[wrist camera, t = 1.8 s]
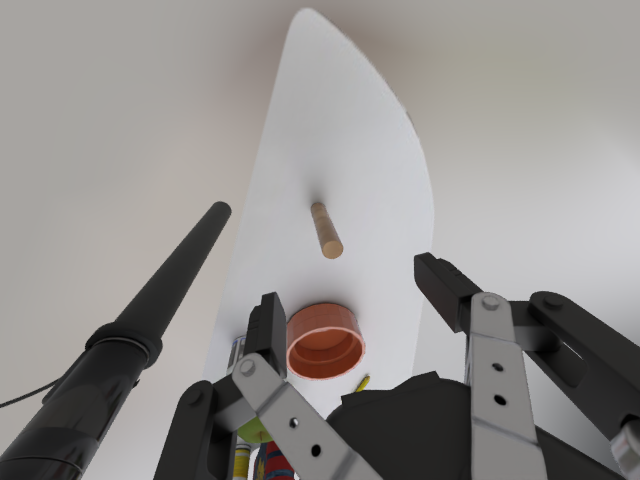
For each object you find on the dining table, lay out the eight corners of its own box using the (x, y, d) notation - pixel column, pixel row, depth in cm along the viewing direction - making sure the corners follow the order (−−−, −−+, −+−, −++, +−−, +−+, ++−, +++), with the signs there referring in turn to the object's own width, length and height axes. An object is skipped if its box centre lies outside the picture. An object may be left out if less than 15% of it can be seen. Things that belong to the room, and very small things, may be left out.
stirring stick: (311, 217, 35) (322, 260, 24) (310, 203, 34) (321, 241, 23) (325, 215, 35) (343, 257, 24) (325, 201, 34) (343, 239, 23)
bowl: (290, 357, 49) (290, 386, 43) (280, 307, 42) (279, 334, 37) (355, 346, 50) (364, 373, 45) (356, 296, 43) (366, 320, 38)
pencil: (343, 412, 62) (344, 416, 61) (340, 412, 61) (340, 416, 60) (371, 374, 55) (372, 378, 54) (367, 373, 55) (368, 377, 54)
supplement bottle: (230, 444, 62) (221, 497, 53) (250, 443, 63) (245, 494, 54) (230, 454, 64) (222, 506, 56) (250, 452, 65) (245, 503, 57)
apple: (275, 366, 49) (273, 419, 41) (296, 390, 54) (298, 442, 46) (230, 383, 50) (218, 439, 41) (254, 406, 55) (248, 460, 46)
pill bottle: (241, 354, 46) (233, 399, 39) (228, 341, 44) (216, 385, 37) (262, 346, 46) (258, 389, 39) (250, 331, 44) (243, 375, 36)
